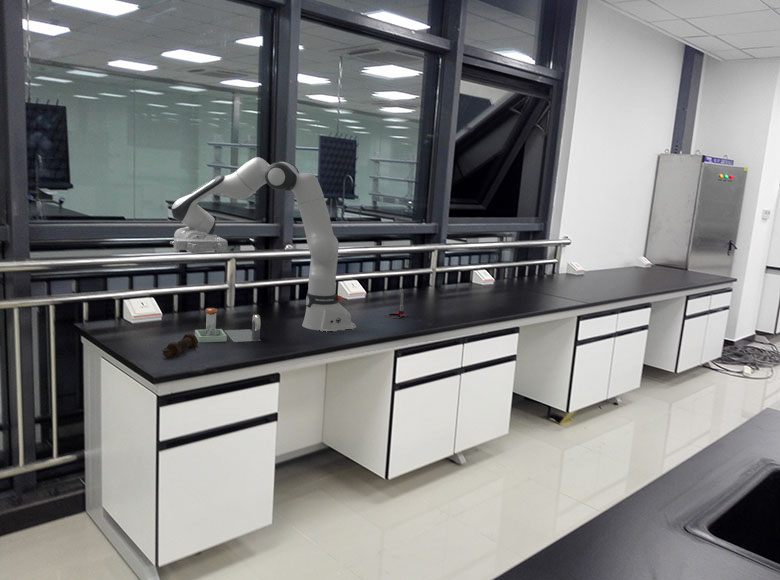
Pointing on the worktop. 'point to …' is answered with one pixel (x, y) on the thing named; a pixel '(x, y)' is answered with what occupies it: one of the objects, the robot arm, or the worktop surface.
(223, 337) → the tray
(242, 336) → the base
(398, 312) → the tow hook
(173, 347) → the dark brown lumpy piece
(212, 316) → the lock pin
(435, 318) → the worktop surface
